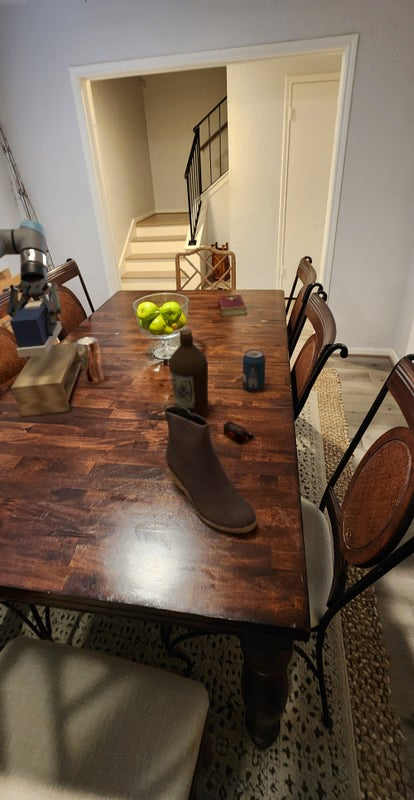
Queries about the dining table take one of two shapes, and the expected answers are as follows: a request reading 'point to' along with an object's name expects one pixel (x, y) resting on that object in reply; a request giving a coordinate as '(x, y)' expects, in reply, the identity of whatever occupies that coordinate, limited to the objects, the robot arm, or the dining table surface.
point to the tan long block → (47, 381)
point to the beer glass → (91, 359)
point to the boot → (204, 473)
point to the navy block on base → (33, 329)
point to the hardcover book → (232, 305)
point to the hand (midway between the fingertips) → (35, 335)
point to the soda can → (253, 370)
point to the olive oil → (189, 376)
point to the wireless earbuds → (236, 432)
